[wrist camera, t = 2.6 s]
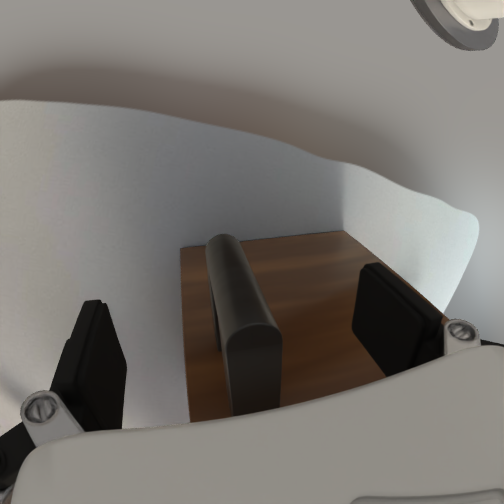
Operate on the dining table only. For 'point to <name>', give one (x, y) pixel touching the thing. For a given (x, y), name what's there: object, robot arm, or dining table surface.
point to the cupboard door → (272, 322)
